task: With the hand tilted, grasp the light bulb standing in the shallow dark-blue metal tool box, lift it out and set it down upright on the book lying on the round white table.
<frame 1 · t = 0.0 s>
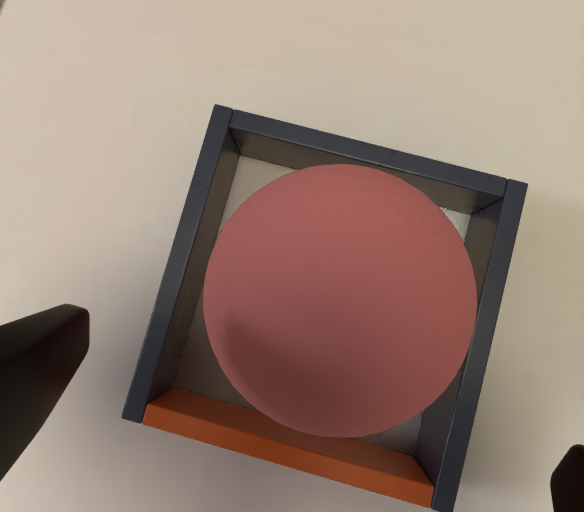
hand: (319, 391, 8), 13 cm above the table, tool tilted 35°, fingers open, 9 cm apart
tool box: (323, 299, 21), on the table
light bulb: (323, 299, 21), resting in tool box
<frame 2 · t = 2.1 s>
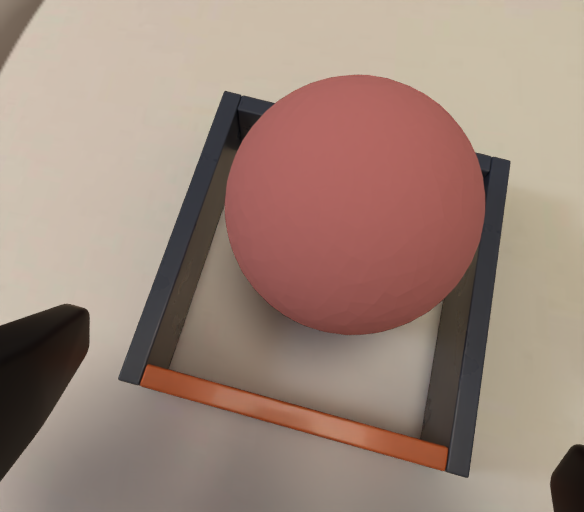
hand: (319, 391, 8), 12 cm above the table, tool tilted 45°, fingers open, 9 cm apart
tool box: (323, 282, 21), on the table
light bulb: (322, 284, 22), resting in tool box
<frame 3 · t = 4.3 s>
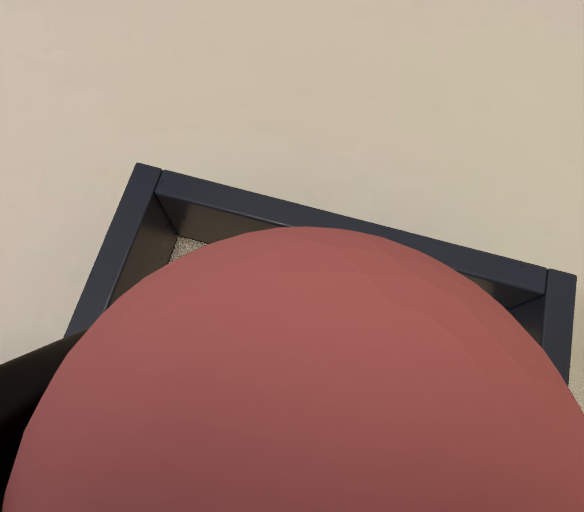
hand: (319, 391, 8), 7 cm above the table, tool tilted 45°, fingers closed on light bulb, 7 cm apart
tool box: (289, 442, 14), on the table
light bulb: (289, 441, 15), resting in tool box, touching gripper
when the fingers open (11 cm above the table, at t = 11.5 s): light bulb stays where it is, resting on book.
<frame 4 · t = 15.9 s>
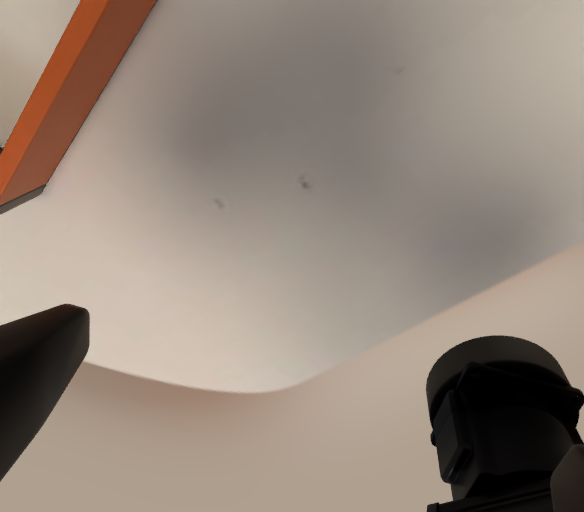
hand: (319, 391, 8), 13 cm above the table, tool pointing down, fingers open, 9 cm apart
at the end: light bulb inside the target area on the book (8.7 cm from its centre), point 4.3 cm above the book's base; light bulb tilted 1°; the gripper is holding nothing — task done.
